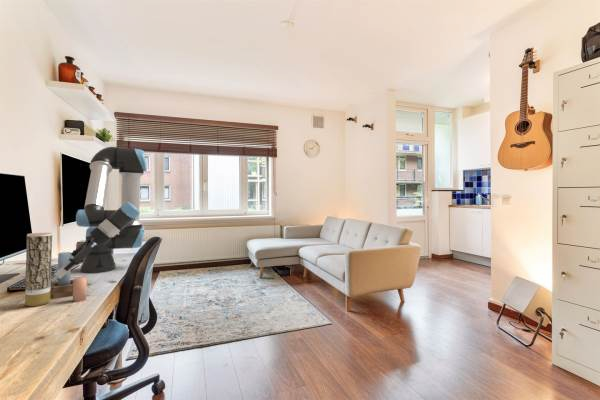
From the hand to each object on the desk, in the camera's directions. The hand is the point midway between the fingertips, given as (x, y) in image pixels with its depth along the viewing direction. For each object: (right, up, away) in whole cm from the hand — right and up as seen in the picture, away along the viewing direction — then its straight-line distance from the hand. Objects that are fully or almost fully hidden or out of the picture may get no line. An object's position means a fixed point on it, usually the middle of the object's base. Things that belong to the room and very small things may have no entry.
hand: (57, 272), depth 116 cm
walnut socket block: (+1, -9, +1) cm, 9 cm away
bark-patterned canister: (+1, -9, -10) cm, 14 cm away
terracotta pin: (+12, -9, -5) cm, 16 cm away
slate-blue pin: (+1, -9, +1) cm, 9 cm away
